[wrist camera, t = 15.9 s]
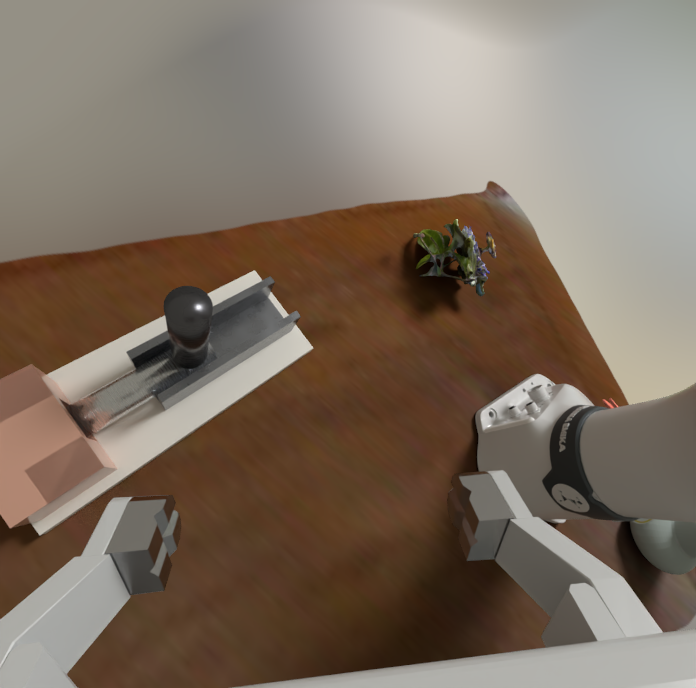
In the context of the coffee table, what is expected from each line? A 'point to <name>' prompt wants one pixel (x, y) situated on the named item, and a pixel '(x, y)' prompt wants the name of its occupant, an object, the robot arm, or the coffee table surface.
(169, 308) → the slide bolt
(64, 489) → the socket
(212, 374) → the grey guide channel
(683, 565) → the air freshener
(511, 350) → the coffee table surface
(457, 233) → the passion flower
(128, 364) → the base board
